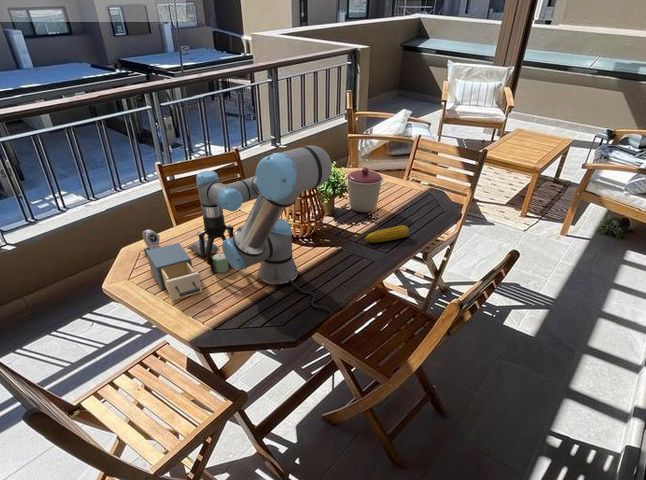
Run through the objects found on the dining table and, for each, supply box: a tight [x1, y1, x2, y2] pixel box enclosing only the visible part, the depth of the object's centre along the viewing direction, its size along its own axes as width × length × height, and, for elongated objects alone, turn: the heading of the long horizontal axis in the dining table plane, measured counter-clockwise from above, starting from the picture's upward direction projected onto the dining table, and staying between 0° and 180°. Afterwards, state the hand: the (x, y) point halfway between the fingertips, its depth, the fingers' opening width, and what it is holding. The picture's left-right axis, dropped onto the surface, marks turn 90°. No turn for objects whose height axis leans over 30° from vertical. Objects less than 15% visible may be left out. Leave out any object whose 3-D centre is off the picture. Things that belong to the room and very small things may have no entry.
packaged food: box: [186, 238, 221, 256], centre depth 187 cm, size 9×12×5 cm
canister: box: [346, 167, 384, 213], centre depth 223 cm, size 18×18×21 cm
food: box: [364, 224, 410, 244], centre depth 200 cm, size 21×6×6 cm, turn 115°
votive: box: [212, 253, 230, 274], centre depth 176 cm, size 6×6×6 cm
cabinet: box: [146, 242, 194, 290], centre depth 170 cm, size 15×13×10 cm
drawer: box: [159, 262, 203, 301], centre depth 161 cm, size 20×11×8 cm, turn 33°
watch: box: [142, 228, 161, 257], centre depth 183 cm, size 6×8×11 cm
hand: (221, 268), depth 178 cm, fingers open, 6 cm apart
